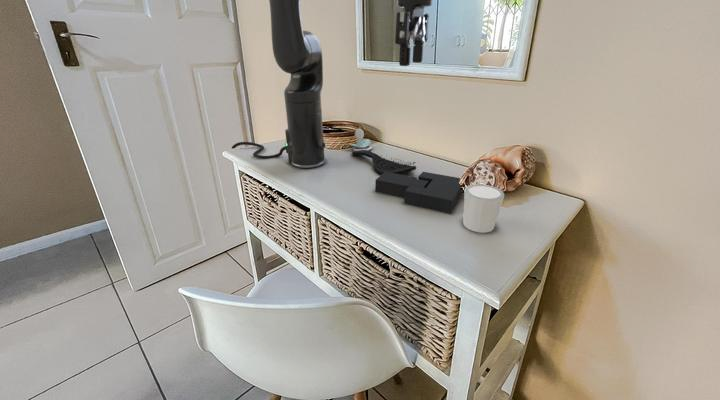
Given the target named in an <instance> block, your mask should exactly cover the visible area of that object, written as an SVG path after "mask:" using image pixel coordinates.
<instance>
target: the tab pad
mask: <svg viewBox="0 0 720 400" xmlns="http://www.w3.org/2000/svg"><path fill="white" fill-rule="evenodd" d="M428 182H429V181H424V180H419V179H418V177H417V176H412V175H406V174H396V173H390V172H384V173H383V174H382V175H381V174H380V175H379V176H378V177H377V178H376V179H375V181H374V183H375V184H374V185H375V189H374V190H375V193H380V194H385V195H390V196H393V197H398V198H403V199H404V198H405V190H406V189H407V188H408V187H409V186H410V185H413V186H419V187H424V188H426V187H427V186H428Z"/></svg>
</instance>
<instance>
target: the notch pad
mask: <svg viewBox="0 0 720 400" xmlns="http://www.w3.org/2000/svg"><path fill="white" fill-rule="evenodd" d="M417 176H418V177H417V179H419V180H424V181H429V182H428V186H427V187H426V188H424V187H419V186H413V185H410V186H409V187H408V188H407V189H406V190H405V198H403V200H404V202H403V203H404V204H406V205H410V206H415V207H420V208H424V209H429V210H433V211H437V212H442V213H446V214H452V212H453V210H454V209H455V207H456V205H457V203H458V202H459V200H460V198H461V196H462V195H463V194H464V191H463V190H462V192H461V187H462V185H460V184H459V183H458V182H459V180H460V178H461V177H457V176H450V175H446V174H439V173H434V172H428V171H422V172H421V173H420V174H419V175H417Z"/></svg>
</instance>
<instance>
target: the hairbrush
mask: <svg viewBox="0 0 720 400" xmlns="http://www.w3.org/2000/svg"><path fill="white" fill-rule="evenodd" d="M351 154H352V155H353V156H365V157H367V158H369V159H371V160H372V165H373V169H374V170H375V172H376V173H377V174H379V175H380V176H381V175H382V174H383V173H384V172H390V173H396V174H401V175H404V174H405V173H409V172H413V171H415V170H417V165H415V164H416V162H415V161H413V162H411V161H408V162H407V163H404V162H403V161H402V159H401V158H400V159H396V158H395V157H394V159H393V158H390V156H388V158H390V159H387V155H386V157H382V156H383V155H382V154H381V155H379V154H377V153H375V152H372V151H371V150H357V151H354V150H352V151H351Z"/></svg>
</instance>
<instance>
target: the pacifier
mask: <svg viewBox="0 0 720 400" xmlns="http://www.w3.org/2000/svg"><path fill="white" fill-rule="evenodd" d="M354 136H355V138H356V143H350V142H349V143H348V145H349V146H351V147H353V151H357V150H368V151H372V149H373V146H372V145H371V139H369V138H366V139H365V138H364V136H365V132H364V131H363V129H361V128H358V129H356V130H355V131H354Z"/></svg>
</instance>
